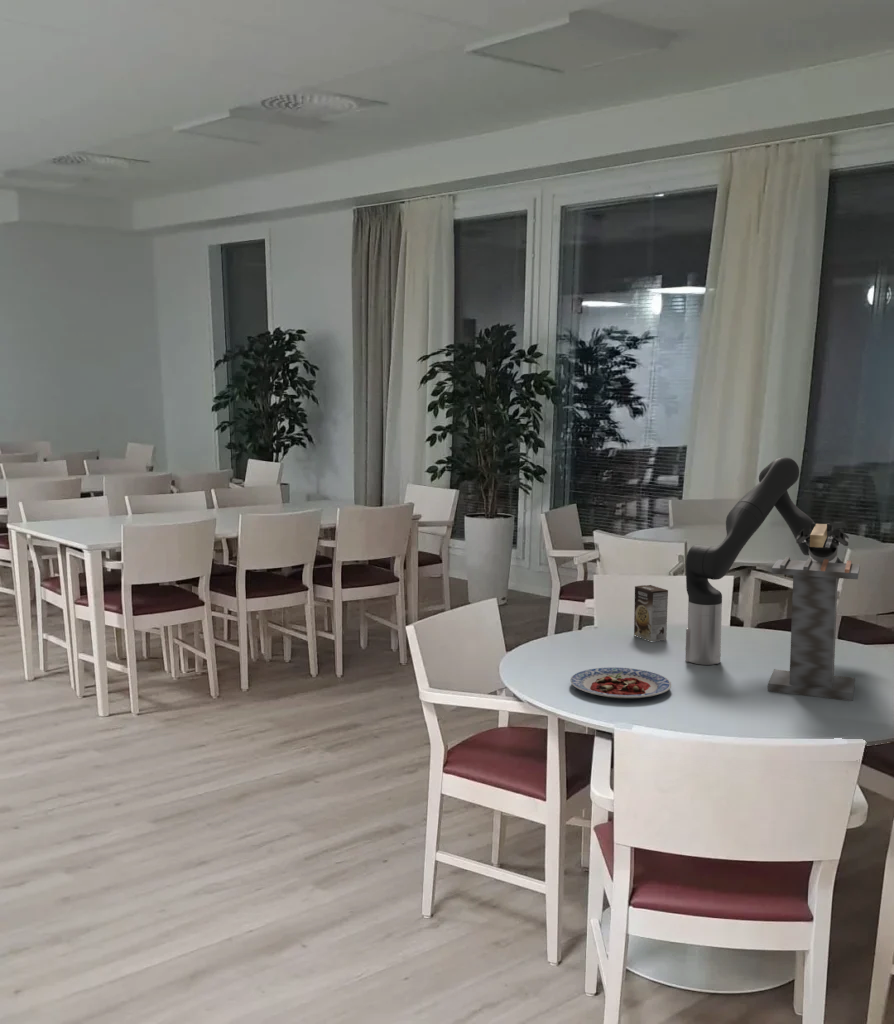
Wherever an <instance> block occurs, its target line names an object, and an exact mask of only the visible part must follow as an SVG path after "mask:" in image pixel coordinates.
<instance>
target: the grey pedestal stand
mask: <svg viewBox="0 0 894 1024" xmlns="http://www.w3.org/2000/svg"><path fill="white" fill-rule="evenodd" d="M860 569H861V565H860V563H852V560H847V561H846V562H842V563H831V562H829V559H824V561H823V562H814V561H812V558H810V557H808V558H807V560H796V559H793V560H792V559H791V556H785V558H784V559H781V558H780V559H779V558H778V559H776V562H775V563H774V564H773V566H772V567H771V574H772V575H783V576H784V575H785V576H787V575H788V576H792V577H793V578H792V595H791V596H792V602H791V627H790V628H791V630H790V633H791V634H790V657H789V670H785V669H773V671H772V672H771V676H770V678H769V680H768V682H767V692H774V693H782V694H783V693H784V694H789V695H799V696H807V697H808V696H809V697H816V698H817V697H818V698H825V699H832V700H833V699H835V700H843V701H851V702H852V701H853V699H854V693H855V681H856V678H855V677H849V676H840V675H835V657H836V656H835V655H836V654H835V652H836V633H837V631H836V629H837V609H838V608H837V606H838V584H839V579H845V580H846V579H849V580H859V575H860ZM838 578H839V579H838Z"/></svg>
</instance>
